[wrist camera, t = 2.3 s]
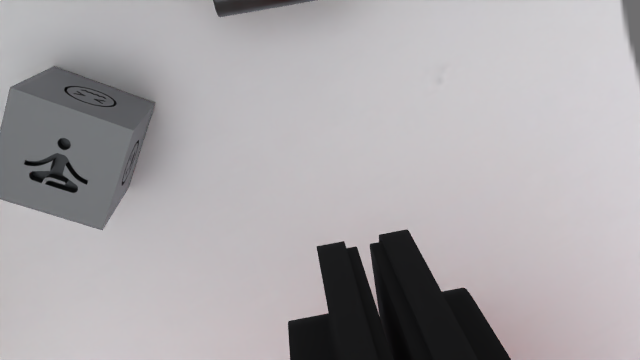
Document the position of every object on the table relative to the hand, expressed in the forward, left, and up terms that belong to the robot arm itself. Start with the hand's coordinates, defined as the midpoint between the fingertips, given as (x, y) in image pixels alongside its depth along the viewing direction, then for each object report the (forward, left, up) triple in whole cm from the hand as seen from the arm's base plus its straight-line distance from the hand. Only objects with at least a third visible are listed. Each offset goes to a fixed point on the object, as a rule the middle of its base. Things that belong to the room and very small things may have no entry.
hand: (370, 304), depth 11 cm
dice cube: (-11, 0, -19) cm, 22 cm away
